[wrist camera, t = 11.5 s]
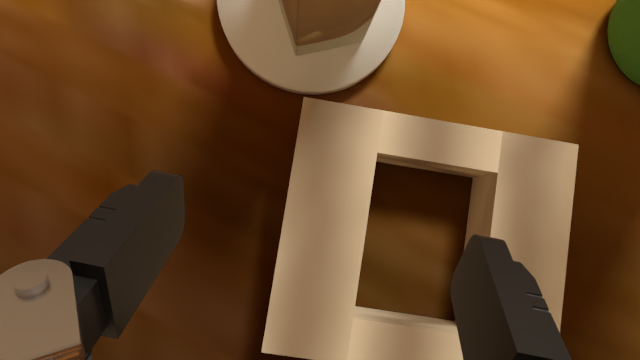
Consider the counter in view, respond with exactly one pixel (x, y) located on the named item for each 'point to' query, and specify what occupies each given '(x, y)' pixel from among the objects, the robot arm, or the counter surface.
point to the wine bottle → (625, 37)
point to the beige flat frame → (352, 214)
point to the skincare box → (326, 23)
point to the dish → (309, 69)
